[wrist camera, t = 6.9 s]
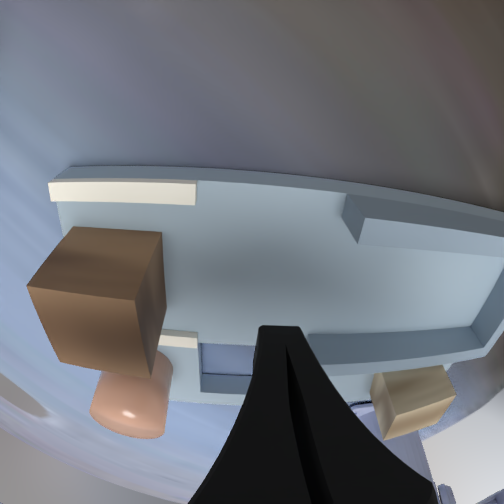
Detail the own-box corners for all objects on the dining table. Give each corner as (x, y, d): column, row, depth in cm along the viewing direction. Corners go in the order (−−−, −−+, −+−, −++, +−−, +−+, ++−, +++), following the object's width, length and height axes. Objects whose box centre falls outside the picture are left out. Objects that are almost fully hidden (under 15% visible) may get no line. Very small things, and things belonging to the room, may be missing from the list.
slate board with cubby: (425, 376, 21) (439, 409, 18) (120, 375, 20) (109, 416, 17) (515, 215, 13) (550, 246, 10) (69, 166, 11) (26, 199, 9)
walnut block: (167, 307, 14) (150, 378, 11) (89, 298, 14) (60, 361, 10) (162, 231, 12) (134, 300, 8) (73, 226, 11) (26, 285, 8)
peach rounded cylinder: (176, 386, 18) (169, 442, 14) (116, 378, 17) (102, 431, 14) (169, 346, 15) (158, 411, 12) (100, 337, 15) (79, 397, 12)
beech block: (419, 379, 19) (436, 423, 16) (369, 392, 19) (383, 440, 16) (432, 345, 17) (456, 394, 13) (377, 360, 17) (396, 415, 14)
